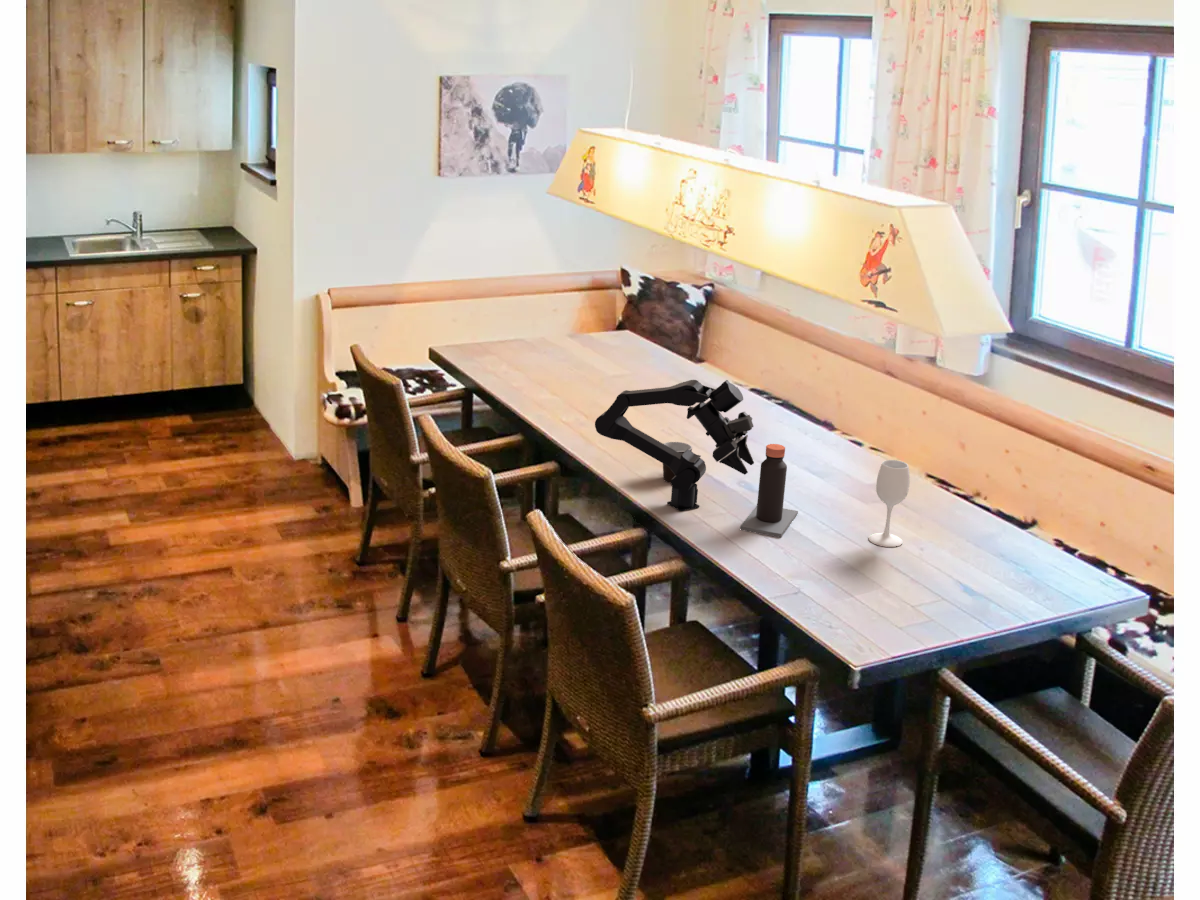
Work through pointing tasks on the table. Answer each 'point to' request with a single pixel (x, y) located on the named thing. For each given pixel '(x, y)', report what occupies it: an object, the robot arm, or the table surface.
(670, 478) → the coffee mug
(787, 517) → the gray board
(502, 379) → the table surface
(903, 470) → the wineglass
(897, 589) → the table surface
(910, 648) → the table surface
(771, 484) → the vinegar
